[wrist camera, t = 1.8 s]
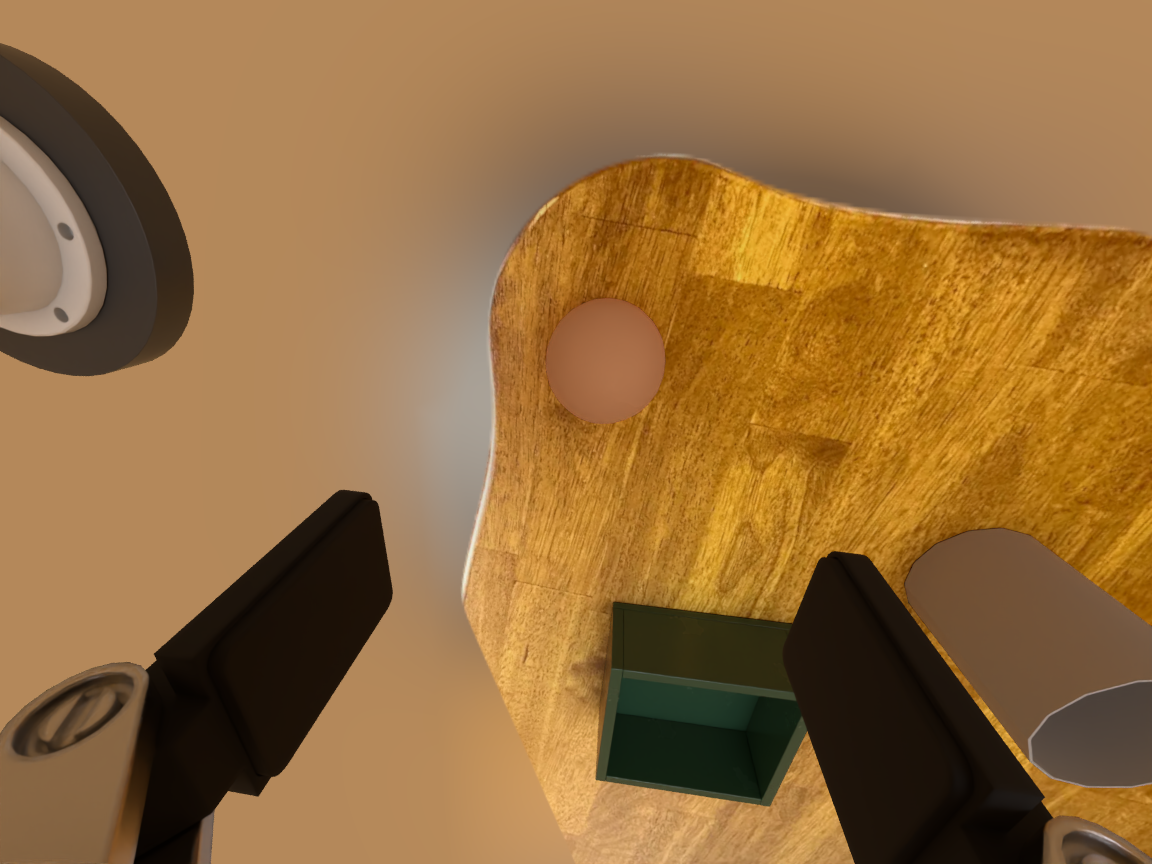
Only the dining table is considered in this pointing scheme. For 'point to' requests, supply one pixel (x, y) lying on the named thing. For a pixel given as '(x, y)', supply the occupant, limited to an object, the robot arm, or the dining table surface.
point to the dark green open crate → (697, 704)
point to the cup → (1043, 654)
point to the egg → (605, 360)
